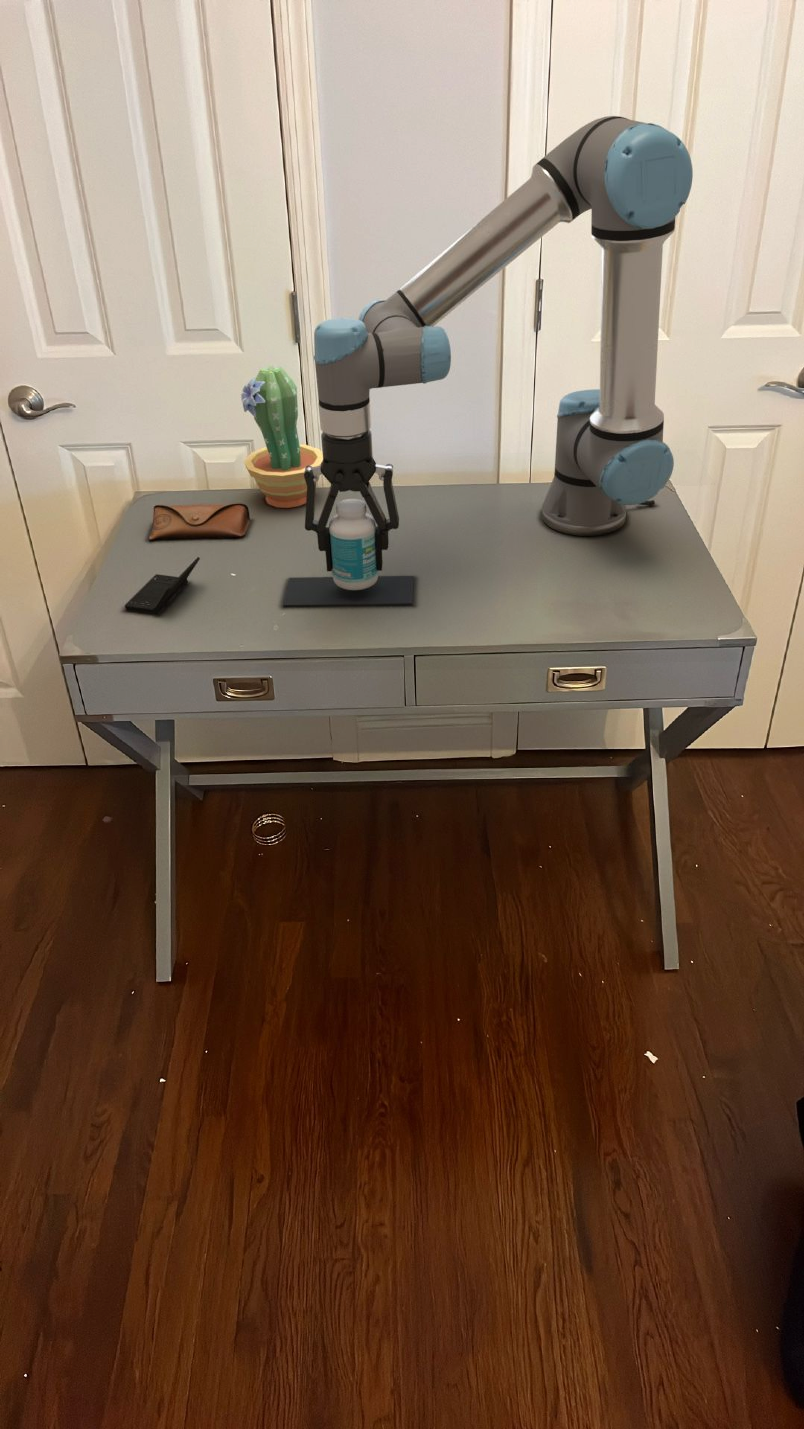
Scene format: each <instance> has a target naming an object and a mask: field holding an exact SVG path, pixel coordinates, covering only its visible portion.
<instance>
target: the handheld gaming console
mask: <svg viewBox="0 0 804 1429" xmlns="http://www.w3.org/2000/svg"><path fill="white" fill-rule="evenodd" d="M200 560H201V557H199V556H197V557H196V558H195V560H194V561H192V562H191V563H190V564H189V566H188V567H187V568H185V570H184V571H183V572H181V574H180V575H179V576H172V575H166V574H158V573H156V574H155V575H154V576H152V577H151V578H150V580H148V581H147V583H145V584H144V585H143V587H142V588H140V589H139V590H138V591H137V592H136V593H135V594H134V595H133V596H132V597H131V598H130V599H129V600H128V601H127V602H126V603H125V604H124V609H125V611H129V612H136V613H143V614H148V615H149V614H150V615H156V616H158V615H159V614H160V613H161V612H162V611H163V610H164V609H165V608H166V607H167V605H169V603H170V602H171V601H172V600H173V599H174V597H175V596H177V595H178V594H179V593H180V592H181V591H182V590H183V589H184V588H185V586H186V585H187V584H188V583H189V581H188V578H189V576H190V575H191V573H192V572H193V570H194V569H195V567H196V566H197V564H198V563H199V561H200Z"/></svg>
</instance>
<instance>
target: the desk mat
mask: <svg viewBox="0 0 804 1429" xmlns="http://www.w3.org/2000/svg"><path fill="white" fill-rule="evenodd" d="M414 579H415V578H414V575H391V576H390V575H387V576H386V575H385V576H384V575H381V576H380V575H378V579H377V581H376V583H375V584H374V585H372V586H371V587H368V588H366V589H362V590H347V589H343V588H341V587H339V586H337V585H336V584H335V582H334V580H333V576H320V577H319V576H317V577H316V576H315V577H312V576H311V577H309V576H308V577H289V579H288V583H287V586H286V592H285V596H284V600H283V604H282V605H283V608H312V607H315V608H316V607H317V608H318V607H319V608H320V607H322V608H323V607H386V606H387V607H389V606H413V605H414Z"/></svg>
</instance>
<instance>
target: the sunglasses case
mask: <svg viewBox="0 0 804 1429" xmlns="http://www.w3.org/2000/svg"><path fill="white" fill-rule="evenodd" d="M152 515H153V516H152V527H151V531H150V535H149V537H148V540H149V541H154V540H164V539H165V540H166V539H169V540H170V539H176V540H177V539H179V540H180V539H226V538H227V539H228V538H239V537H243V536H245V535H246V533H247V531H248V529H249V526H250V524H251V518H250V517H251V516H250V510H249V508H248V506H247V504H245V503H242V502H237V503H229V504H228V503H227V504H183V505H166V504H164V505H163V504H156V505H154V506H153V514H152Z"/></svg>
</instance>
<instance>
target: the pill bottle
mask: <svg viewBox="0 0 804 1429" xmlns="http://www.w3.org/2000/svg"><path fill="white" fill-rule="evenodd" d="M335 509H336V510H335V511H336V512H335V513H336V514H335V515H334V516H333V517H332V518H331V520H330V521H329V524H328V527H329V533H330V545H331V558H332V571H331V572H332V577H333V580H334V582H335V584H336V585H337V586H339V587H341V588H343V589H347V590H362V589H366V588H368V587H371V586H372V585H374V584H375V583H376V581H377V579H378V576H379V571H377V554H376V535H375V534H376V526H377V524H376V522H375V520H374V518H373V516H372V515H371V514H369V513H367V503H366V501H365V500H363V499H358V498H347V499H343V500H340V501H338V502H337V503H336V505H335Z"/></svg>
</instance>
